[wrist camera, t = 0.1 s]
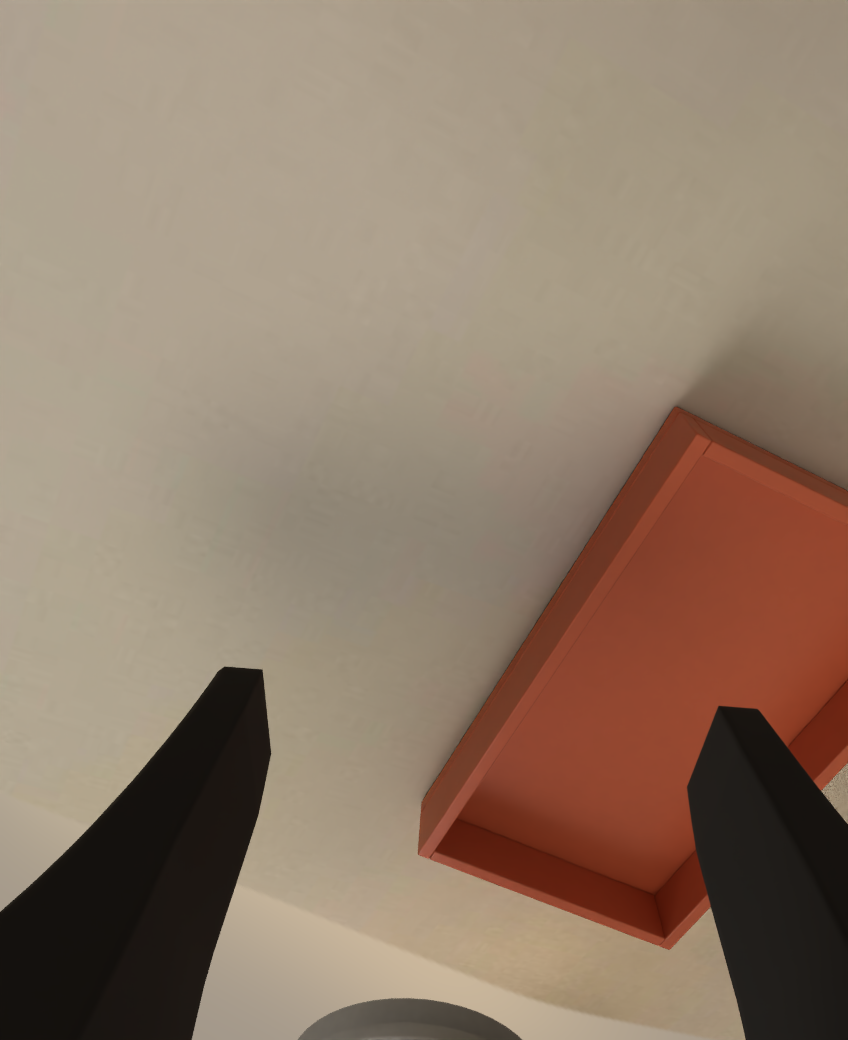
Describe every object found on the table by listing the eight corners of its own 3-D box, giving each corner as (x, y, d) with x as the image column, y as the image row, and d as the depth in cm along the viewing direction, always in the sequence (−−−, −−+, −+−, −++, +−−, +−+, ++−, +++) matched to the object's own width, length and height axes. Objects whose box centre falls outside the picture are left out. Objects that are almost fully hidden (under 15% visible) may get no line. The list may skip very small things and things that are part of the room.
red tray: (655, 893, 26) (669, 951, 24) (420, 802, 25) (416, 855, 23) (963, 547, 20) (1015, 588, 18) (674, 404, 19) (697, 433, 17)
